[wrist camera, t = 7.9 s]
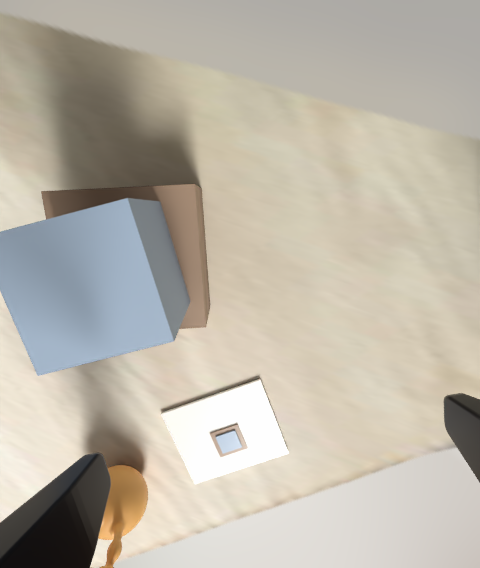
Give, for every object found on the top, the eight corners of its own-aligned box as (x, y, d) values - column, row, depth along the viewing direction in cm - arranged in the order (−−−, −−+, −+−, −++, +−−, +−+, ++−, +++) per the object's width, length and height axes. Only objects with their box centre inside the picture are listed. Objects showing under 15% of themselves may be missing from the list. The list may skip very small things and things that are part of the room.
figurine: (58, 475, 23) (-124, 760, 11) (90, 406, 22) (-75, 642, 10) (167, 516, 24) (108, 816, 12) (204, 453, 23) (176, 715, 11)
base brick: (201, 189, 19) (194, 183, 15) (210, 304, 20) (205, 327, 17) (80, 195, 19) (41, 191, 15) (98, 310, 20) (67, 335, 16)
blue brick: (160, 201, 15) (127, 197, 10) (190, 301, 16) (174, 341, 11) (57, 228, 15) (-23, 237, 10) (94, 326, 16) (37, 375, 12)
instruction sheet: (260, 378, 21) (260, 381, 21) (288, 451, 23) (289, 455, 22) (161, 412, 22) (160, 416, 21) (194, 482, 23) (194, 486, 23)
